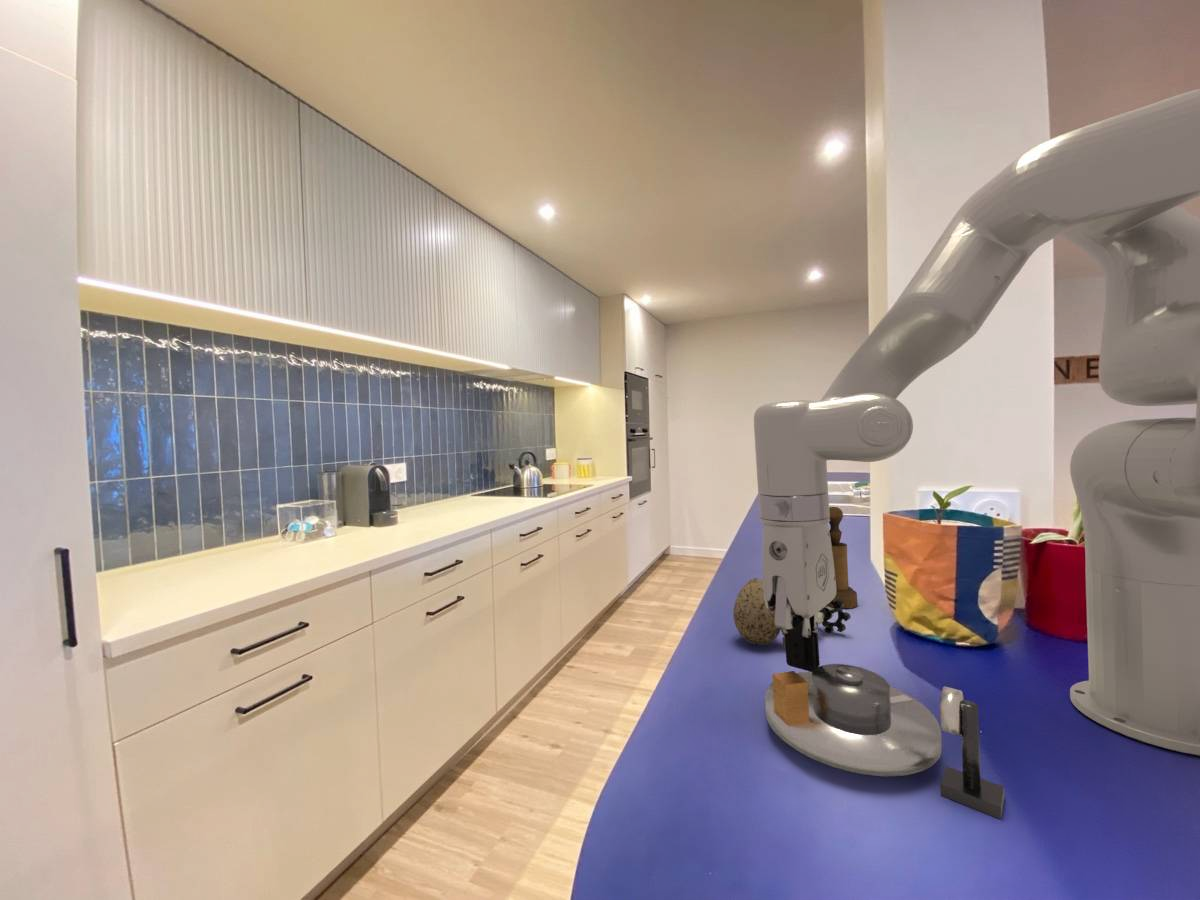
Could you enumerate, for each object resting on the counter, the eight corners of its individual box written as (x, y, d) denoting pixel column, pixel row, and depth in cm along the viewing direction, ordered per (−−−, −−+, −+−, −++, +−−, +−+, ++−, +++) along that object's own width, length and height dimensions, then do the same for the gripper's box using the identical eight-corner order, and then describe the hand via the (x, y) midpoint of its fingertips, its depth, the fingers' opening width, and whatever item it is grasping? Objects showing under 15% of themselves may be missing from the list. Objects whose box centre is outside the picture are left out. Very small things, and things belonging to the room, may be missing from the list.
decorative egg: (724, 640, 74) (722, 577, 74) (758, 630, 77) (756, 569, 77) (758, 657, 68) (755, 588, 68) (794, 646, 71) (791, 580, 71)
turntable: (859, 675, 59) (857, 631, 59) (986, 759, 43) (984, 699, 43) (739, 693, 56) (737, 647, 56) (828, 790, 40) (825, 725, 40)
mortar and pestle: (858, 600, 89) (855, 505, 89) (856, 611, 84) (852, 510, 84) (820, 595, 93) (816, 504, 93) (815, 606, 87) (811, 508, 87)
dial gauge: (1004, 796, 40) (1001, 694, 40) (1000, 821, 38) (997, 712, 38) (947, 774, 43) (943, 679, 43) (940, 797, 41) (936, 695, 41)
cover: (861, 693, 52) (859, 654, 52) (908, 731, 45) (906, 686, 45) (800, 699, 51) (798, 659, 51) (838, 738, 44) (836, 693, 44)
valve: (810, 661, 66) (851, 637, 73) (808, 615, 66) (850, 595, 73) (768, 646, 72) (811, 625, 79) (767, 603, 71) (809, 586, 79)
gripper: (801, 520, 47) (812, 705, 47) (848, 501, 57) (858, 651, 58) (731, 516, 52) (742, 682, 52) (787, 499, 63) (796, 637, 63)
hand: (803, 665), depth 55 cm, fingers closed
